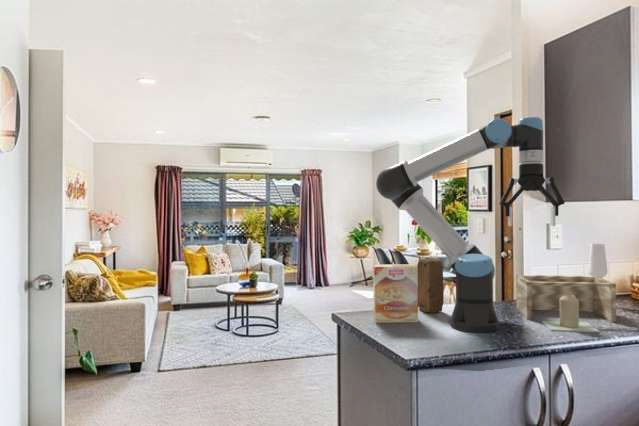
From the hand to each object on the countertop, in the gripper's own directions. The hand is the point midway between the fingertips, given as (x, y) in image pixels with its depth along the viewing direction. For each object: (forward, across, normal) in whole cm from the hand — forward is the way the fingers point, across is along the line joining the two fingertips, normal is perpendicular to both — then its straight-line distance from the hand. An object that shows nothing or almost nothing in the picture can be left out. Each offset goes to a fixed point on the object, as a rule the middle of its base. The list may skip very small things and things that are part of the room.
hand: (531, 226), depth 161 cm
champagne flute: (+33, +32, +34) cm, 57 cm away
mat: (+33, +10, -6) cm, 35 cm away
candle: (+32, +10, -6) cm, 34 cm away
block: (+33, -34, +12) cm, 49 cm away
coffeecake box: (+33, -46, -5) cm, 57 cm away
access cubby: (+33, +13, +12) cm, 37 cm away
